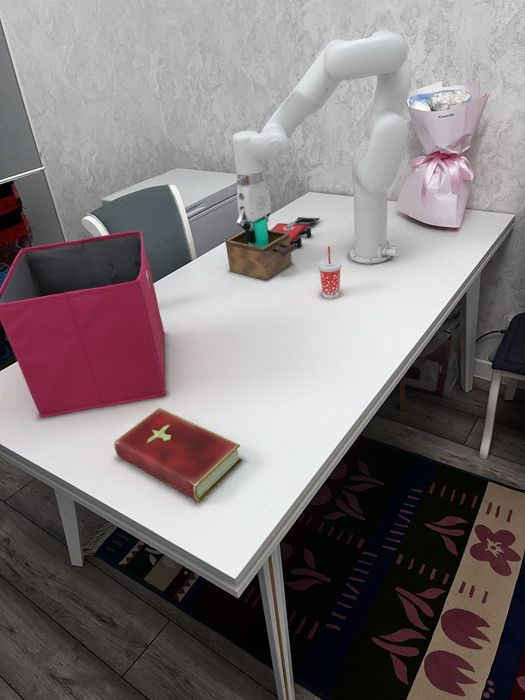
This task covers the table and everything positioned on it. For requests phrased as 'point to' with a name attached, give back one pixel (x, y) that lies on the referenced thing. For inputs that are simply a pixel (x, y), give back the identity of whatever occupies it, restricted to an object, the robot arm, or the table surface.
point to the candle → (260, 232)
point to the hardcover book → (179, 453)
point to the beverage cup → (330, 277)
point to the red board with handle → (296, 229)
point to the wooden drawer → (260, 255)
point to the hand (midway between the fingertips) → (257, 238)
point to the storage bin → (85, 323)
